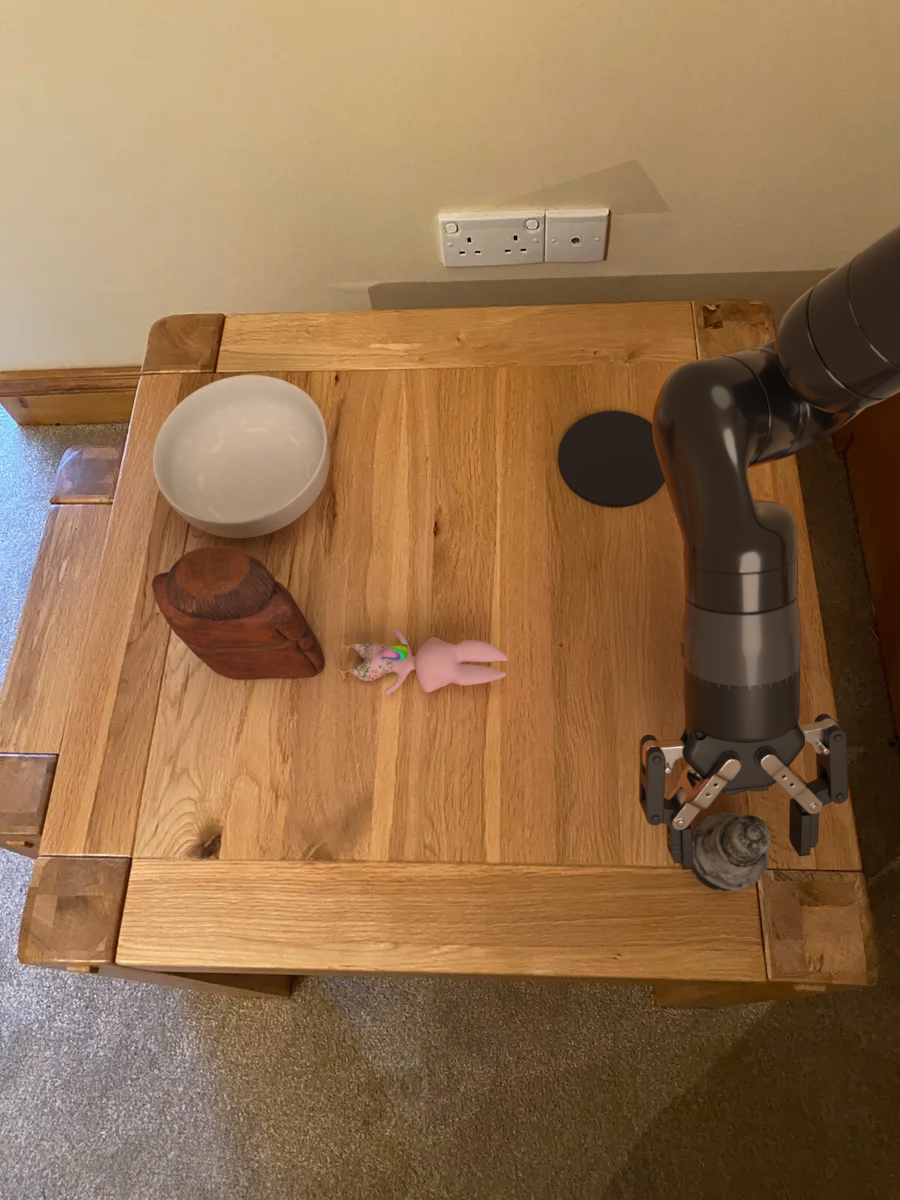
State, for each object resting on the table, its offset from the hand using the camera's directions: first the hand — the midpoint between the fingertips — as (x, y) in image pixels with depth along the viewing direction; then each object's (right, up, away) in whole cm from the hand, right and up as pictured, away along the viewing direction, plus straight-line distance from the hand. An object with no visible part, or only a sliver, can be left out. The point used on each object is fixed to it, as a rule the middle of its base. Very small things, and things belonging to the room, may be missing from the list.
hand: (742, 856), depth 65 cm
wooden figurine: (-38, +14, +17) cm, 44 cm away
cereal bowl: (-41, +30, +25) cm, 57 cm away
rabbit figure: (-24, +12, +15) cm, 31 cm away
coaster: (-5, +33, +23) cm, 40 cm away
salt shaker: (0, -2, +7) cm, 7 cm away
